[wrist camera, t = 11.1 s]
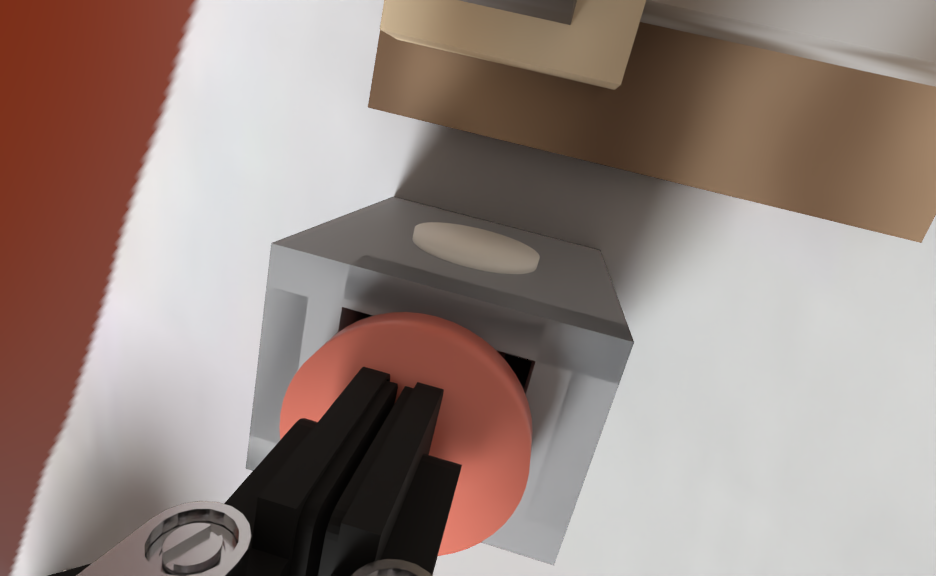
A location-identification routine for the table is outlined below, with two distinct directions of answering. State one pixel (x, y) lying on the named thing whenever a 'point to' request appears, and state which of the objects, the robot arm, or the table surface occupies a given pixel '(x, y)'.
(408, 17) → the carriage
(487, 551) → the table surface
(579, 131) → the slide rail
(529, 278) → the gauge cabinet
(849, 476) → the table surface
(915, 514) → the table surface
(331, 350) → the button
